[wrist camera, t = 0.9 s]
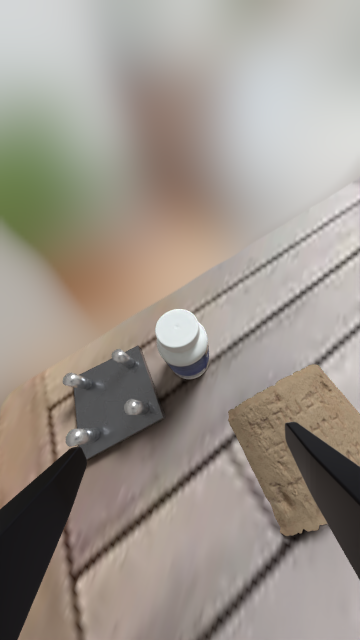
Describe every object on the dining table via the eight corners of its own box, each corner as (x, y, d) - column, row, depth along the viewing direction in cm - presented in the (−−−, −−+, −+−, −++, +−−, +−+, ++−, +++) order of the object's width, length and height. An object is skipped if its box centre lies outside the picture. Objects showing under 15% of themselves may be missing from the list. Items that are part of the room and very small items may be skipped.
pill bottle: (216, 369, 22) (218, 338, 14) (179, 387, 22) (158, 366, 13) (198, 336, 25) (191, 294, 17) (165, 351, 24) (141, 316, 16)
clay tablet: (276, 537, 15) (288, 559, 12) (215, 415, 20) (216, 415, 18) (406, 453, 16) (439, 459, 13) (316, 360, 21) (328, 353, 19)
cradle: (165, 417, 20) (153, 417, 16) (87, 460, 19) (54, 470, 15) (141, 348, 25) (127, 335, 21) (78, 379, 24) (52, 371, 21)
